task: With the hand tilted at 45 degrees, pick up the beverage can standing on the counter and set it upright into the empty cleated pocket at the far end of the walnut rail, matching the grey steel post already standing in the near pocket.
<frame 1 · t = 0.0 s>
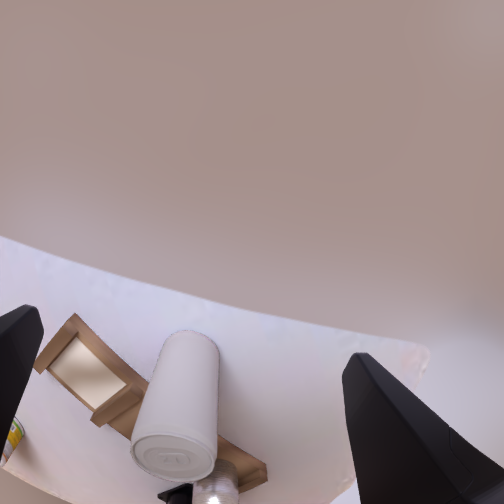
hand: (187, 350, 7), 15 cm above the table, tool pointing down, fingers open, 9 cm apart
supplement bottle: (10, 420, 26), on the table
walnut rail: (156, 421, 26), on the table
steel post: (215, 470, 26), resting on walnut rail
beverage can: (191, 350, 25), on the table
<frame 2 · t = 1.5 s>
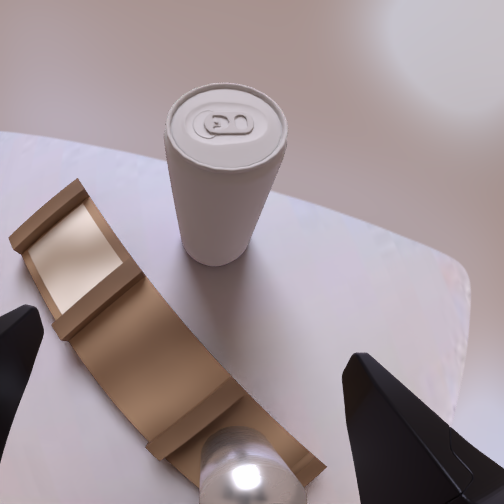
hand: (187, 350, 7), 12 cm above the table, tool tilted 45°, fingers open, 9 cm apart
walnut rail: (148, 360, 18), on the table
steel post: (237, 457, 16), resting on walnut rail
beverage can: (215, 237, 22), on the table
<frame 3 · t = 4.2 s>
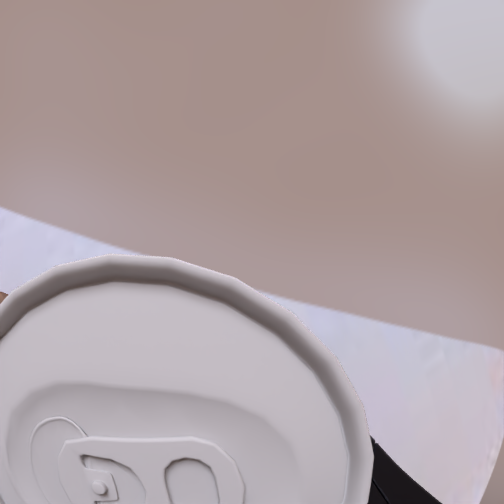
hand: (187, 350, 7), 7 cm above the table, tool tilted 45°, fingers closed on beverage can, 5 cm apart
beverage can: (192, 377, 13), on the table, touching gripper
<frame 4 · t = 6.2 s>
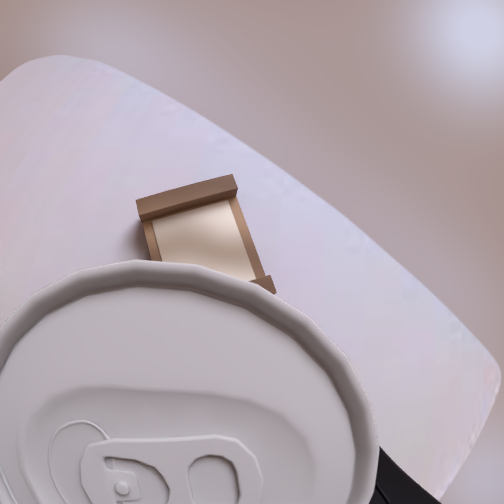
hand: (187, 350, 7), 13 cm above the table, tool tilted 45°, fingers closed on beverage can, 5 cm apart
walnut rail: (241, 369, 20), on the table
beverage can: (185, 374, 13), point 6 cm above the table, touching gripper
when the fingers open (9 cm above the table, at t = 8.3 s): beverage can stays where it is, resting on walnut rail.
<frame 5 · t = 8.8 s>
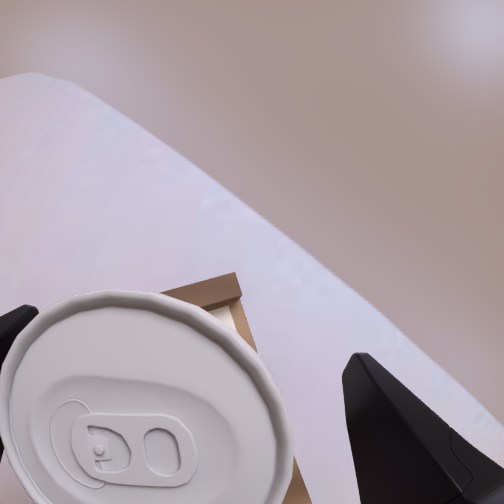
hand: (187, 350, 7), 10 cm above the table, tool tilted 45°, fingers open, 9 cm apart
walnut rail: (243, 493, 14), on the table
beverage can: (186, 376, 14), point 1 cm above the table, touching walnut rail
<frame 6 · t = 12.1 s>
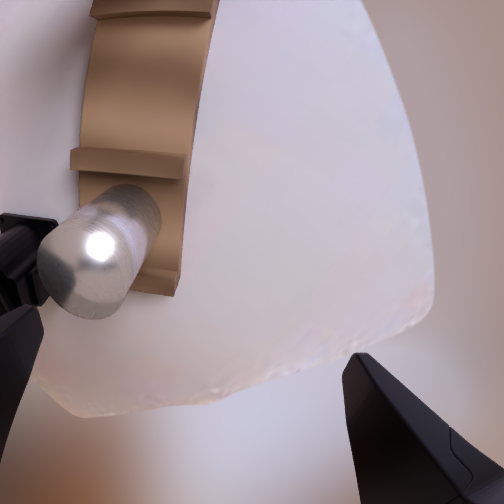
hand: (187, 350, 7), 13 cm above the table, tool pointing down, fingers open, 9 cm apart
walnut rail: (146, 82, 15), on the table
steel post: (127, 219, 18), resting on walnut rail
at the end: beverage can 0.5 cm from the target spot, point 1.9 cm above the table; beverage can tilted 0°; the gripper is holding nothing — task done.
